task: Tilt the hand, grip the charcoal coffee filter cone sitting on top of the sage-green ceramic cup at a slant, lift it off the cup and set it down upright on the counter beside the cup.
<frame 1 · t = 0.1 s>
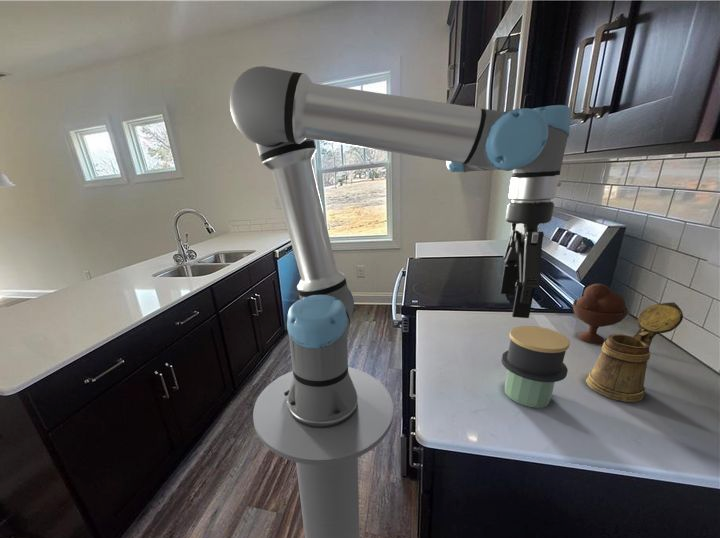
hand: (513, 304, 68), 17 cm above the countertop, tool pointing down, fingers open, 13 cm apart
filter: (532, 365, 63), point 7 cm above the countertop, touching cup
ice cream bowl: (590, 339, 85), on the countertop
wooden mug: (621, 386, 67), on the countertop
cup: (526, 394, 66), on the countertop
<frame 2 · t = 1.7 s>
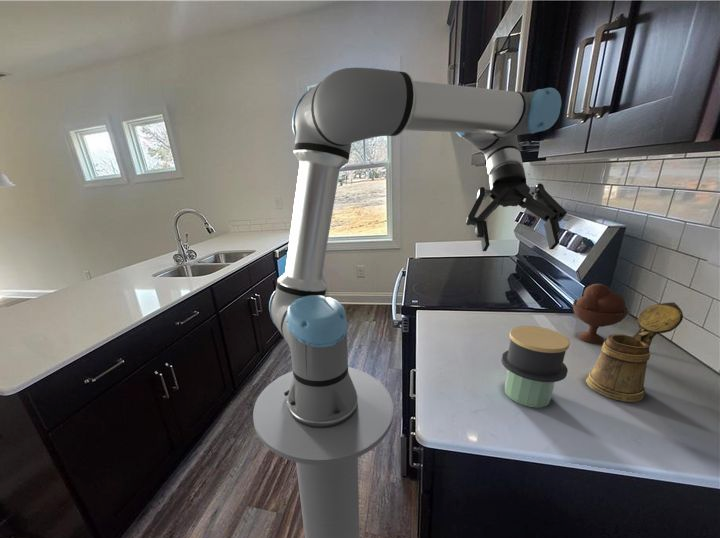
hand: (519, 247, 70), 28 cm above the countertop, tool tilted 45°, fingers open, 13 cm apart
nothing on the countertop moved.
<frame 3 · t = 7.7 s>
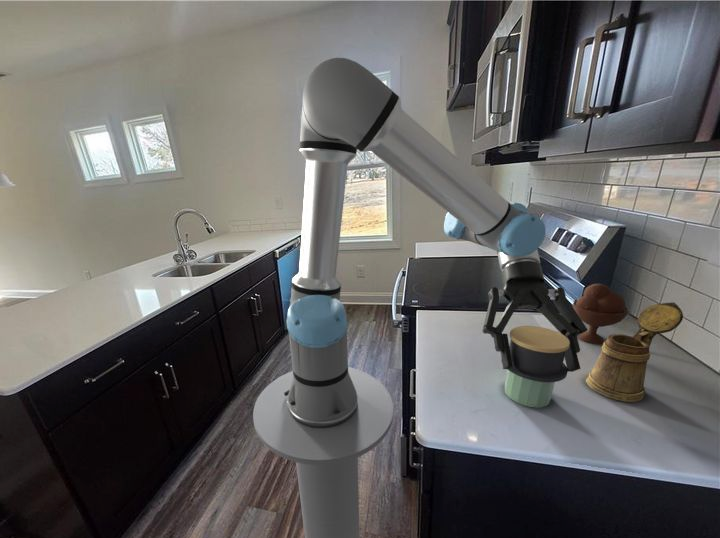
hand: (540, 369, 60), 8 cm above the countertop, tool tilted 45°, fingers closed on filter, 11 cm apart
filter: (532, 365, 63), point 7 cm above the countertop, touching cup, gripper
everything else where it was.
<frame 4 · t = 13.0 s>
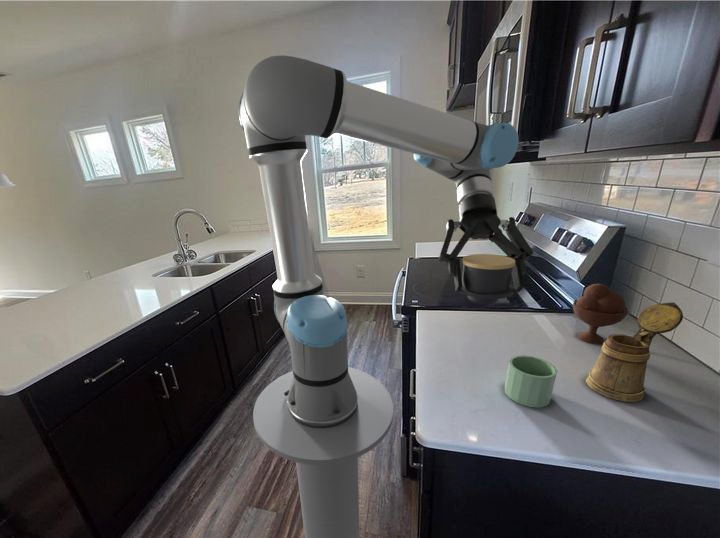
hand: (488, 289, 64), 22 cm above the countertop, tool tilted 45°, fingers closed on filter, 11 cm apart
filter: (483, 289, 67), point 20 cm above the countertop, touching gripper
everything else where it was.
when the fingers open (3 cm above the countertop, at t = 18.7 s): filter stays where it is, point 2 cm above the countertop.
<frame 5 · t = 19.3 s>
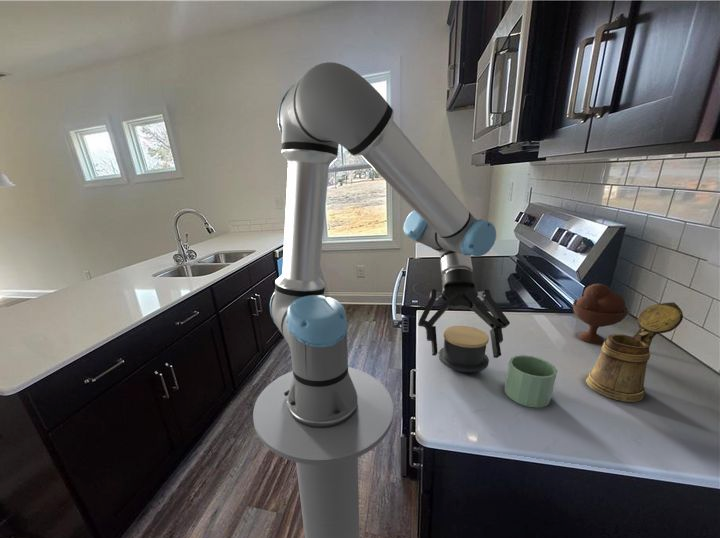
hand: (465, 355, 73), 4 cm above the countertop, tool tilted 45°, fingers open, 13 cm apart
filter: (462, 359, 76), point 2 cm above the countertop
everything else where it was.
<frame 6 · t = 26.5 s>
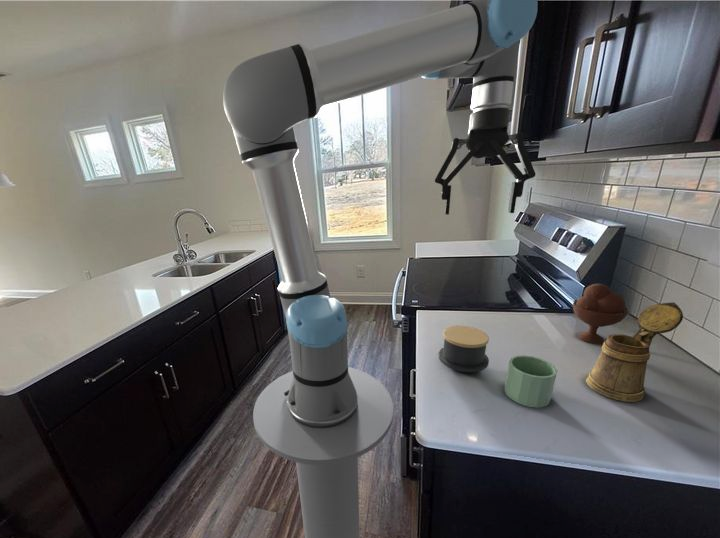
hand: (478, 213, 74), 35 cm above the countertop, tool pointing down, fingers open, 13 cm apart
nothing on the countertop moved.
at the end: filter inside the target area (0.1 cm from its centre), point 2.0 cm above the countertop; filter tilted 0°; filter touching countertop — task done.
